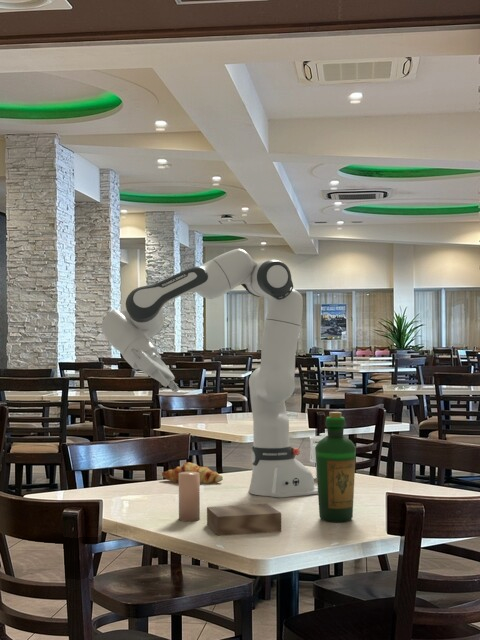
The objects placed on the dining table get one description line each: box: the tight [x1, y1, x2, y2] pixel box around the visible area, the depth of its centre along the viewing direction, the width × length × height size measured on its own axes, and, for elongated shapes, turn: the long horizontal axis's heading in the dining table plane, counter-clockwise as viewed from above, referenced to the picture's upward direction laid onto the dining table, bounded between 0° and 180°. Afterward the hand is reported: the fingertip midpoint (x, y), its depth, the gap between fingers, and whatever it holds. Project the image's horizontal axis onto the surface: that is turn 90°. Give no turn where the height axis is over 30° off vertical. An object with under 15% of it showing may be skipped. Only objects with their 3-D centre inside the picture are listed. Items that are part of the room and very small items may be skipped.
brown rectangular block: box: [206, 503, 282, 536], centre depth 203 cm, size 16×12×4 cm
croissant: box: [161, 461, 223, 485], centre depth 271 cm, size 21×10×8 cm, turn 77°
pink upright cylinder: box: [178, 472, 201, 522], centre depth 214 cm, size 6×6×12 cm
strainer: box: [309, 432, 327, 479], centre depth 278 cm, size 7×7×15 cm
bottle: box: [315, 411, 357, 523], centre depth 213 cm, size 11×11×28 cm
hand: (172, 387), depth 231 cm, fingers open, 8 cm apart
